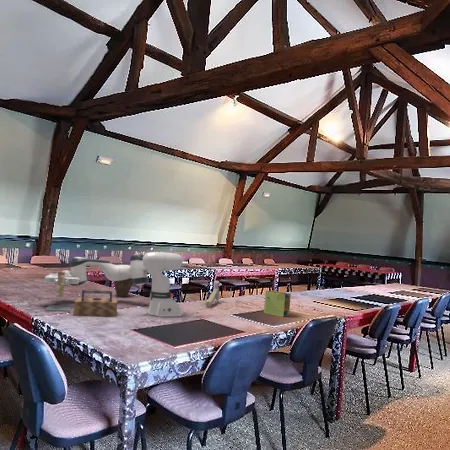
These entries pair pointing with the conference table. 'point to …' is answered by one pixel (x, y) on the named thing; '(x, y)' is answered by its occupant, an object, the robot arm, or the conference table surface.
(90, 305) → the toolbox
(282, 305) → the protein box
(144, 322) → the conference table surface
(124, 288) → the plant pot
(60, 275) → the wooden key
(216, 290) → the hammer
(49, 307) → the slate mat
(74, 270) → the robot arm
